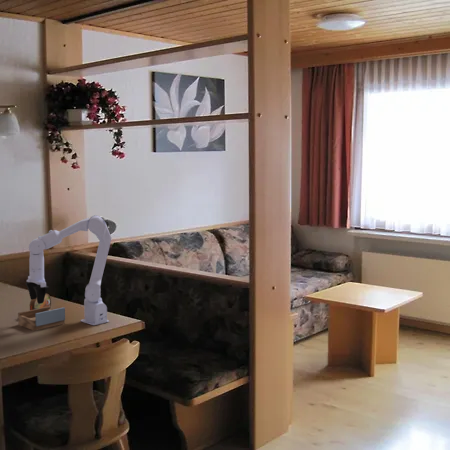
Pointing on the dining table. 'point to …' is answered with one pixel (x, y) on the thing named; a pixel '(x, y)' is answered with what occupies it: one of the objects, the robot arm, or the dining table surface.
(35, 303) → the tin
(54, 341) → the dining table surface
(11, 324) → the dining table surface
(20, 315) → the light wood shallow box
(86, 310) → the robot arm
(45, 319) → the panel
